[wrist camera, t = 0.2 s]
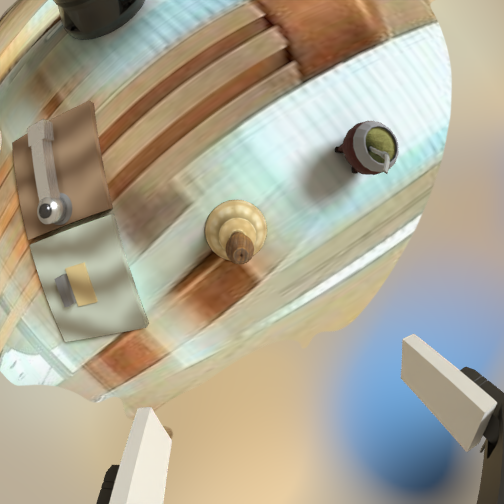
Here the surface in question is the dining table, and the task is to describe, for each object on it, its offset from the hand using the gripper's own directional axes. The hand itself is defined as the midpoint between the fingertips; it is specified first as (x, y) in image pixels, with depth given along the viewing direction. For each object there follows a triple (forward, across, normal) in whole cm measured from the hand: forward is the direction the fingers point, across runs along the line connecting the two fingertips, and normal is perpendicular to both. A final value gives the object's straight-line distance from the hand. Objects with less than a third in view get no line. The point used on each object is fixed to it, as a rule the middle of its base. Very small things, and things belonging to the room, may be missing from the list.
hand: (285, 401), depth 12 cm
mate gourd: (+28, +19, +12) cm, 36 cm away
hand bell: (+28, 0, +5) cm, 28 cm away
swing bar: (+26, -24, +20) cm, 41 cm away
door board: (+28, -24, +12) cm, 39 cm away
